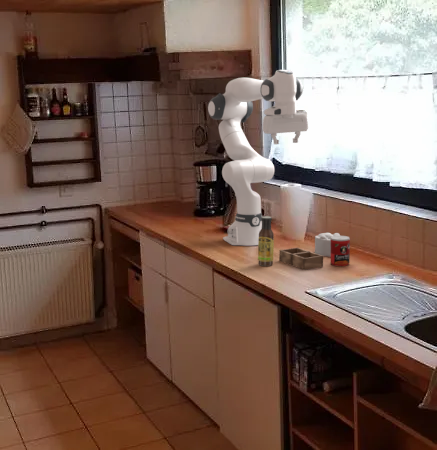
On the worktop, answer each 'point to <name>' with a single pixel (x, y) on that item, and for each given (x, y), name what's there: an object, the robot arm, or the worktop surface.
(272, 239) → the sauce bottle
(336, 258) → the canned food
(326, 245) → the lumpy-topped squat cylinder
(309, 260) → the box
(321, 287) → the worktop surface
